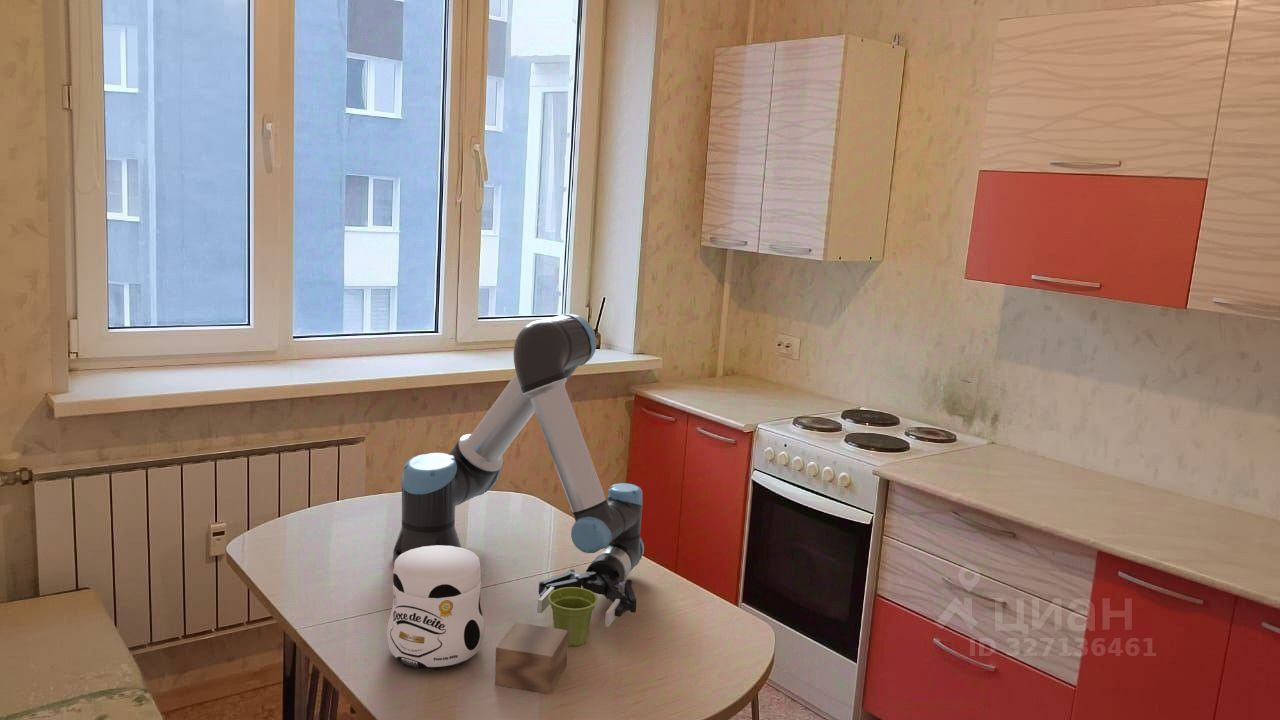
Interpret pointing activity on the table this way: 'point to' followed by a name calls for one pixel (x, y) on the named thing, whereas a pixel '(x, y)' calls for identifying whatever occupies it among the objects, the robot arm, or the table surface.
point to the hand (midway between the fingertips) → (573, 613)
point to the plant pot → (573, 612)
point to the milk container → (436, 607)
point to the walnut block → (531, 657)
